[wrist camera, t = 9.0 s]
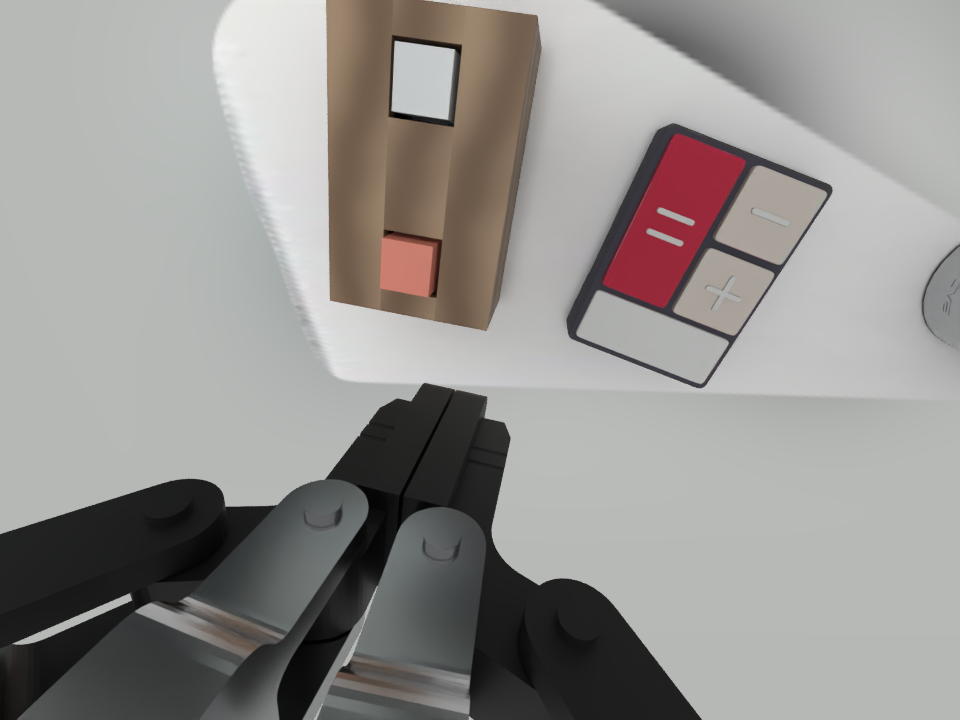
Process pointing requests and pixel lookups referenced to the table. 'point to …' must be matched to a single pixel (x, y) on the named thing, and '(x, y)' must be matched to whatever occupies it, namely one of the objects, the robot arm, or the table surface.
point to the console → (426, 152)
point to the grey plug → (425, 82)
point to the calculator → (692, 254)
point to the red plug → (410, 263)
